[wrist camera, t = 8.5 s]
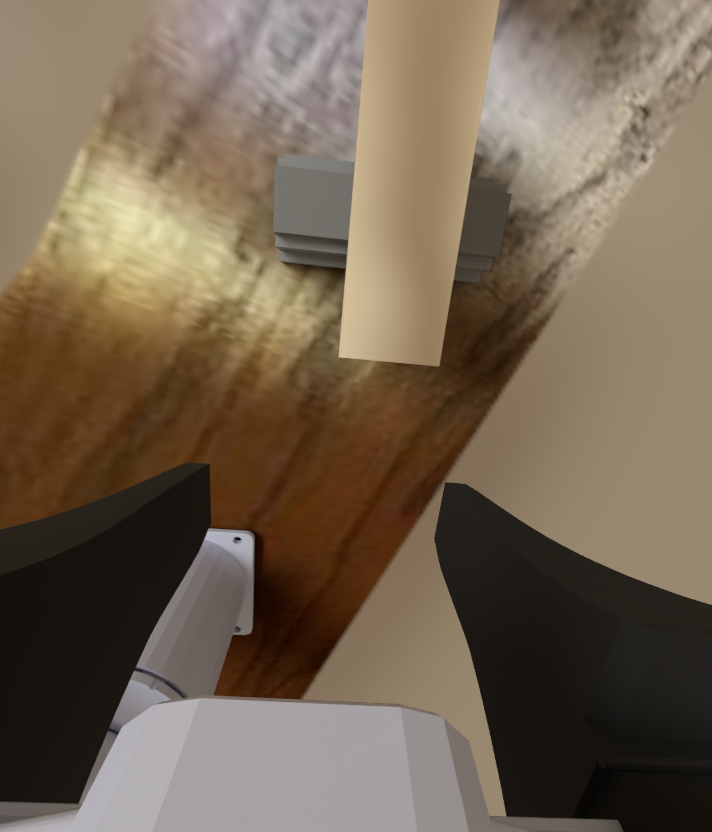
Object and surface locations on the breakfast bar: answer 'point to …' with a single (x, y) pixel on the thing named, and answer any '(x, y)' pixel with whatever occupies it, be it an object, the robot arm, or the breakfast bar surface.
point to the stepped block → (331, 206)
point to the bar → (412, 173)
